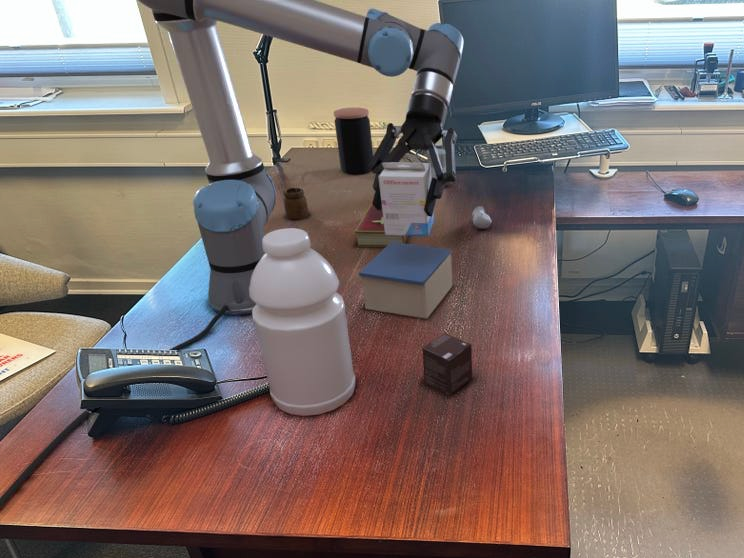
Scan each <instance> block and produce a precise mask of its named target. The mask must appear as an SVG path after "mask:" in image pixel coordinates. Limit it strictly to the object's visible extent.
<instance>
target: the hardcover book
mask: <svg viewBox="0 0 744 558" xmlns="http://www.w3.org/2000/svg"><path fill="white" fill-rule="evenodd" d="M372 202H373V200H372V201H371V202H370V204H369V206H368V208H367V209H366V211H365V213H364V214H363V217H362V218H361V220H360V222H359V223H358V225H357V226H356V228H355V230H354V234H356V238H357V242H356V245H355V247H358V248H386V247H387V246H388V245H389V244H390V243H391V242H397V243H405V244H407V240H408V237H409V236H403V235H385V229H384V220H383V211H382V208H381V210H377V209H376V208H375V207H374V205H373V204H372Z"/></svg>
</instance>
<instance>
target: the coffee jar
mask: <svg viewBox="0 0 744 558" xmlns="http://www.w3.org/2000/svg"><path fill="white" fill-rule="evenodd" d="M369 114H370V113H369V110H368V109H367V108H365V107H364V108H363V107H343V108H339V109H336V110H334V111H333V116H334V128H335V135H336V143H337V150H338V157H339V158H338V159H339V164H340V166H339V167H340V170H341V171H342V172H343V173H344V174H346V175H352V176H353V175H357V176H358V175H364V174H368V173H370V172H372V170H371V169H370V168H369V166H368V165H369V163H370V161H371V159H372V157H373V156H374V150H373V141H372V139H373V138H372V131H371V120H370V118H369Z"/></svg>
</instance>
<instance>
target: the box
mask: <svg viewBox="0 0 744 558" xmlns="http://www.w3.org/2000/svg"><path fill="white" fill-rule="evenodd" d="M421 349H422V362H423V378H424V379H423V381H424V383H425V384H426V385H429V386H430V387H433V388H435V389H436V390H439V391H440V392H443V393H445V394H446V395H452V394H453V393H455V392H456V391H458V390H459V389H460V388H462V387H463V386H465V385H466V384H467V383H469V382H470V381H471V380H473V355H472V353H473V352H472V351H473V350H472V343H470V342H467V341H465V340H463V339H460V338H458V337H456V336H454V335H452V334H449V333H447V332H444V333H443V334H441V335H440V336H438V337H437V338H435V339H433V340H432V341H430V342H429V343H427V344H425V345H424V346H422V347H421Z"/></svg>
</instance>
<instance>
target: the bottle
mask: <svg viewBox="0 0 744 558" xmlns="http://www.w3.org/2000/svg"><path fill="white" fill-rule="evenodd" d="M262 246H263V251H264V252H265V254H264V256H263V257H262V258H261V260H260V261H259V262H258V264H257V266H256V267H255V269H254V271H253V273H252V276H251V280H250V286H249V295H250V298H251V299H252V300H253V301H254V302H255V303H256V305H255V307H254V308H253V310H252V314H251V315H252V322H253V325H254V328H255V333H256V337H257V340H258V344H259V349H260V353H261V357H262V362H263V366H264V369H265V373H266V379H267V382H268V386H269V393H270V397H271V400H272V402H273V403H274V405H276V407H278V408H279V410H281V411H283V412H285V413H287V414H290V415H295V416H303V417H307V416H316V415H321V414H325V413H328V412H331V411H334V410H336V409H338V408H339V407H341V406H343V405H344V404H346V403H347V402H348V400H349V399H351V397H352V396H353V395H354V391H355V388H356V375H355V372H354V365H353V364H354V363H353V358H352V349H351V343H350V338H349V329H348V322H347V314H346V313H347V312H346V305H345V301H344V298H343V296H342V295H341V294H340V293H339V292H337V291H338V288H339V286H340V279H339V276H338V275H337V273H336V272H335V270H334V267H333V266H332V264H331V263H330V262H329V261H328V260H327V259H326V258H325V257H324V256H323V255H322V254H320V253H319V252H317V251H316V250H315V249H313V248H312V247H311V246H312V243H311V239H310V236H309V233H308V232H306V230H303V229H301V228H296V227H295V228H294V227H293V228H291V227H289V228H280V229H275V230H272V231H270V232H268V233H266V234H264V237H263V239H262Z"/></svg>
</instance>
